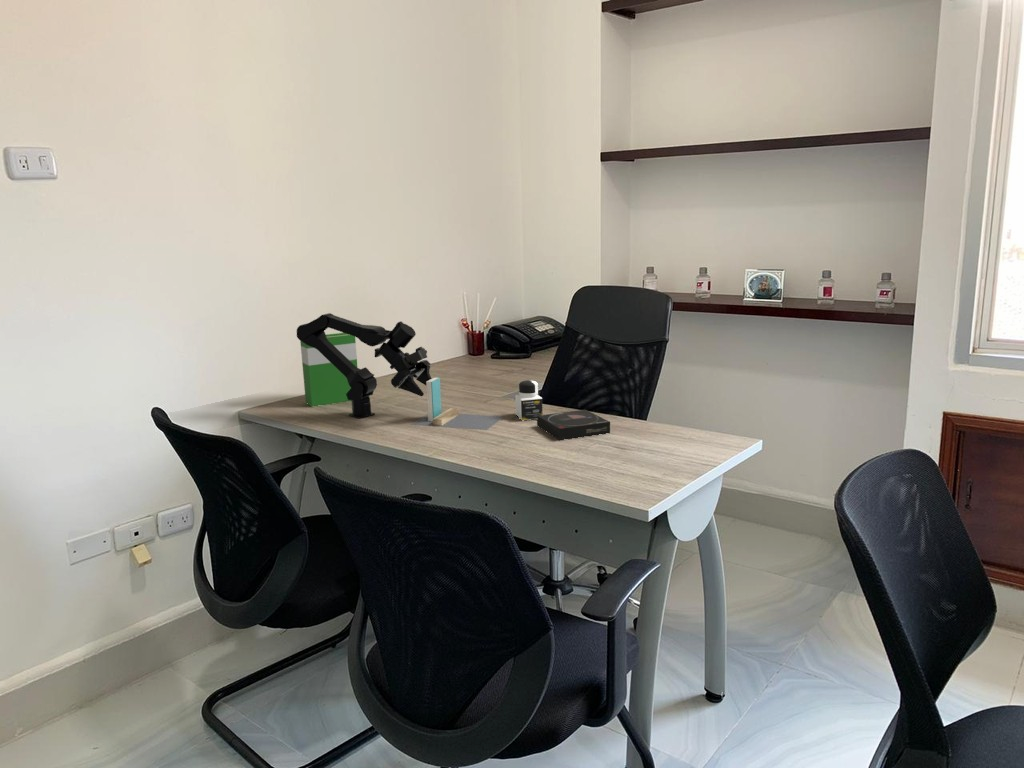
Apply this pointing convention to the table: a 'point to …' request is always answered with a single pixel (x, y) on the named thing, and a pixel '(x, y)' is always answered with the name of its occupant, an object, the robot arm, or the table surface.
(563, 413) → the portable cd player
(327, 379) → the hardback book
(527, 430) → the table surface
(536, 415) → the medicine bottle
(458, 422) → the mat
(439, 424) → the ledge
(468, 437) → the table surface
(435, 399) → the tile
